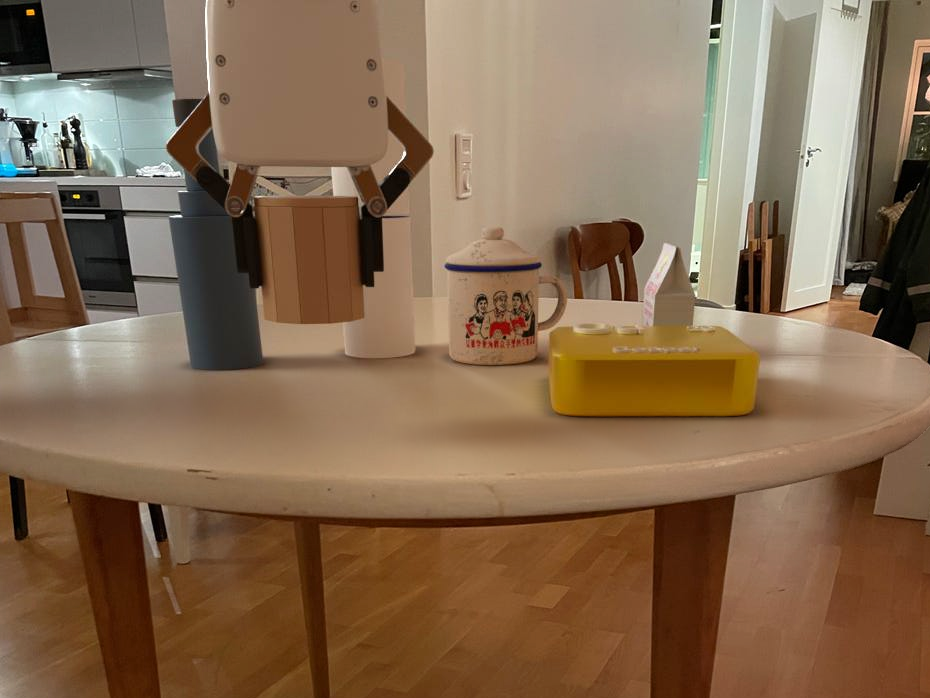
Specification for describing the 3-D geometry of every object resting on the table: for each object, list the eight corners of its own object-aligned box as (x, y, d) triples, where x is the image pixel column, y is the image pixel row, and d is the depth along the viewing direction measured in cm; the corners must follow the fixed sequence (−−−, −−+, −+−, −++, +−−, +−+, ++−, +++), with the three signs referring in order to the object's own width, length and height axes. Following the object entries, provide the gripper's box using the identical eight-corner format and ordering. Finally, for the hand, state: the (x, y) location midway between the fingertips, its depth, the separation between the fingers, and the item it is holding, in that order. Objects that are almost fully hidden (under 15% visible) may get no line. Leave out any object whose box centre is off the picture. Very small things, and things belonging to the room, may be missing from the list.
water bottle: (187, 371, 85) (145, 97, 75) (194, 359, 91) (156, 103, 81) (262, 368, 86) (230, 97, 76) (264, 356, 92) (235, 103, 82)
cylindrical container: (398, 359, 89) (383, 57, 78) (332, 356, 91) (309, 61, 80) (425, 347, 95) (415, 65, 84) (363, 344, 97) (345, 69, 86)
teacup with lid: (461, 369, 85) (458, 231, 79) (436, 353, 92) (432, 226, 87) (582, 361, 88) (587, 227, 82) (548, 346, 95) (551, 223, 90)
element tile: (552, 417, 67) (553, 350, 65) (547, 377, 80) (549, 320, 78) (759, 417, 66) (768, 349, 64) (720, 377, 80) (726, 319, 78)
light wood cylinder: (263, 325, 56) (251, 197, 53) (266, 311, 61) (255, 195, 58) (367, 323, 57) (361, 198, 54) (360, 309, 62) (355, 195, 59)
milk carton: (676, 349, 93) (685, 242, 88) (689, 361, 87) (699, 246, 82) (640, 350, 93) (647, 242, 88) (650, 362, 87) (658, 247, 82)
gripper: (435, -43, 55) (439, 278, 63) (133, -57, 52) (178, 281, 60) (454, -73, 48) (456, 290, 56) (109, -91, 45) (163, 294, 54)
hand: (312, 282), depth 58 cm, fingers closed on light wood cylinder, 6 cm apart
